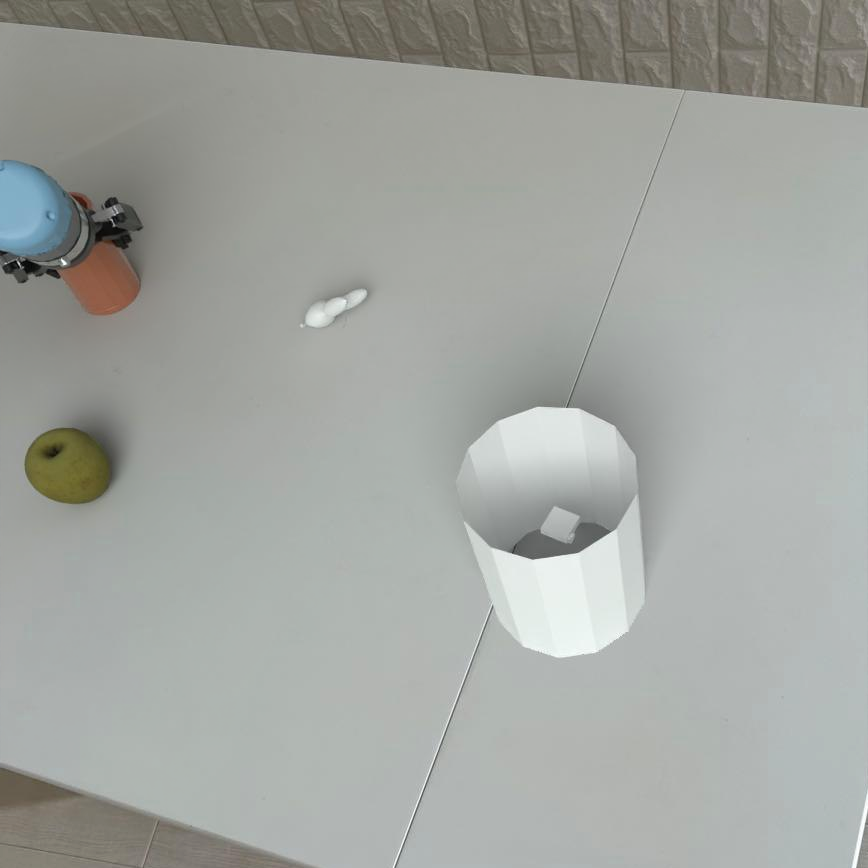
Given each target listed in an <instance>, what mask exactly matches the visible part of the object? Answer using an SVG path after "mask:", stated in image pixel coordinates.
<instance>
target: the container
mask: <svg viewBox="0 0 868 868" xmlns="http://www.w3.org/2000/svg"><path fill="white" fill-rule="evenodd" d="M638 478H639V477H638V465H637V456H636V455H635V453H634V452H633V450H632V449H631V447H630V445H629V444H628V443H627V441H626V440H625V439H624V437H623V436H622V434H621V432H620V431H619V430H618V428H617V427H616V426H615V425H614V424H612V423H609V422H608V421H605V420H603V419H602V418H599V417H598V416H596V415H594V414H592V413H589V412H587V411H585V410H583V409H581V408H577V407H555V406H554V407H553V406H535V407H533V408H530V409H527V410H523V411H522V412H518V413H516V414H513V415H511V416H508V417H505V418H502V419H499V420H497V421H496V422H495V423H493V425H492V426H491V427H489V428H488V429H487V430H486V431H485V432H484V433H483V434H482V435H481V436H480V437H479V438H478V439H476V441H474V442H473V443H472V444H471V445H470V446H468V448H467V450H466V453H465V455H464V458H463V461H462V464H461V467H460V469H459V473H458V475H457V478H456V481H455V483H454V485H455V489H456V494H457V498H458V503H459V507H460V513H461V517H462V521H463V524H464V527H465V529H466V532H467V536H468V538H469V540H470V544H471V547H472V550H473V552H474V556H475V558H476V560H477V563H478V566H479V569H480V572H481V575H482V577H483V580H484V583H485V586H486V588H487V592H488V596H489V598H490V600H491V604H492V606H493V609H494V612H495V614H496V617H497V620H498V622H499V623H500V624H501V626H503V628H504V629H506V630H507V632H508V633H509V634H510V635H511V636H512V637H513V638H514V639H515V640H516V641H517V642H518V643H519V644H520V645H521V647H523V648H526V649H529V648H530V649H529V650H531V651H535V652H538V651H539V653H541V652H542V654H545V655H548V656H550V655H551V657H553V658H557V659H561V658H569V657H575V656H583V655H582V654H584V655H590V653H591V654H597V653H599V652H600V651H602V650H603V649H604V647H605V648H606V647H607V645H608V646H610V643H611V644H613V641H614V640H615V641H617V640H618V639H620V638H621V637H623V636H624V635H626V634H627V633H629V632H630V630H629V629H631V628H632V626H633V624H634V623H635V621H636V619H637V617H638V615H639V614H640V612H641V610H640V609H642V608H643V606H644V604H645V603H646V574H645V573H646V572H645V570H646V569H645V556H644V544H643V533H642V532H643V531H642V529H643V528H642V518H641V506H640V504H641V503H640V496H639V495H640V492H639V479H638ZM580 523H586V524H597V525H599V526H600V525H601V526H600V527H602V526H603V527H602V528H604V529H606V530H608V531H609V533H607V534H606V535H604V536H603V537H601V538H599V539H598V540H596V541H595V542H593V543H591V544H590V545H589V546H587V547H585V548H584V549H582V550H581V551H579V552H577V553H569V554H562V555H555V556H550V557H549V556H548V557H543V558H535V559H531V558H528V557H525V556H522V555H519V554H515V553H510V551H511V550H512V549H513V548H514V547H515V546H516V545H517V544H518V543H519V542H520V541H521V540H523V538H524V537H526V535H527V534H530V533H532V532H535V531H538V530H540V534H542V535H544V536H547V537H549V538H551V539H554V540H556V541H559V542H562V543H564V544H568V543H569V544H572V543H573V542H574V539H575V538H576V536H575V535H576V534H575V532H576V530H577V528H578V527H579V525H580ZM611 531H612V532H611ZM642 605H643V606H642ZM641 607H642V608H641ZM637 614H638V615H637ZM636 616H637V617H636ZM635 618H636V619H635ZM634 620H635V621H634ZM632 623H633V624H632ZM631 625H632V626H631ZM630 627H631V628H630ZM626 632H627V633H626ZM625 633H626V634H625ZM623 634H624V635H623ZM622 635H623V636H622ZM620 636H621V637H620ZM619 637H620V638H619ZM616 639H617V640H616ZM615 641H614V642H615ZM601 649H602V650H601ZM599 650H600V651H599Z"/></svg>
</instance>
